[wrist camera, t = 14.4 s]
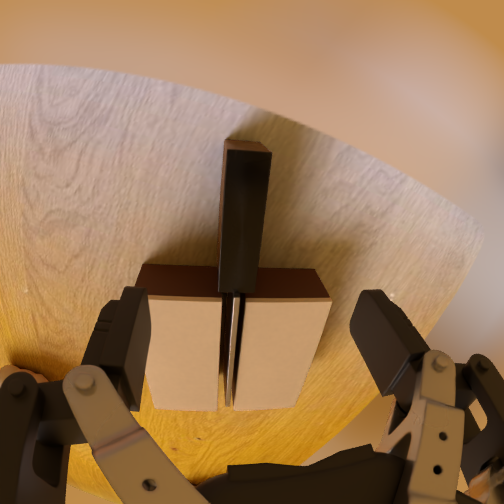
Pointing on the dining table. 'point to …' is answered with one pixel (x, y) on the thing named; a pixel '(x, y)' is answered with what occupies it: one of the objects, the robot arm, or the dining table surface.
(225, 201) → the knife
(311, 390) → the dining table surface
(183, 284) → the slotted tan block
